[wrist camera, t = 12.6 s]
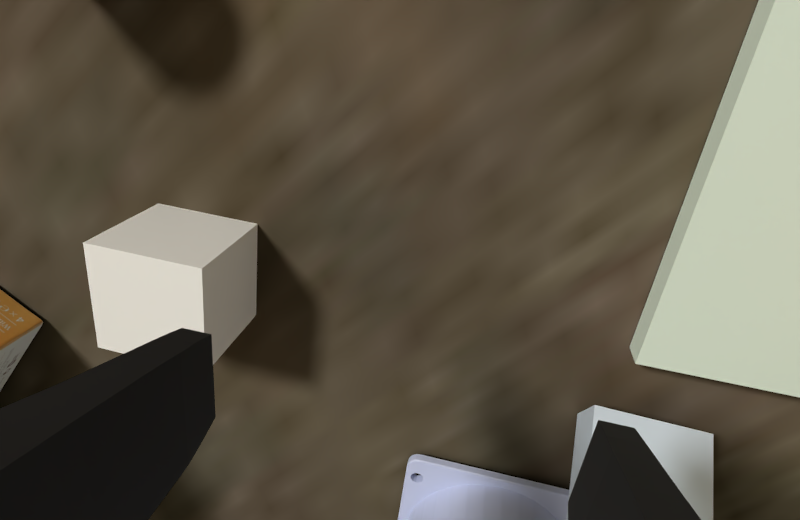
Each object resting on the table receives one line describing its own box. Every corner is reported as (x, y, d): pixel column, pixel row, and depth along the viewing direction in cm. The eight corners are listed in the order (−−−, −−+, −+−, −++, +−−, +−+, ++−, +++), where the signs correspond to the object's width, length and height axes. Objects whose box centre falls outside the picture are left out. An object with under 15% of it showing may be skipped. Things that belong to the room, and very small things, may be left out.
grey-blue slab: (680, 626, 17) (712, 640, 15) (558, 591, 18) (576, 602, 16) (684, 440, 20) (713, 434, 18) (577, 413, 20) (594, 404, 18)
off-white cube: (257, 314, 21) (205, 373, 18) (166, 293, 22) (98, 347, 18) (258, 223, 20) (201, 268, 16) (159, 202, 20) (82, 242, 16)
